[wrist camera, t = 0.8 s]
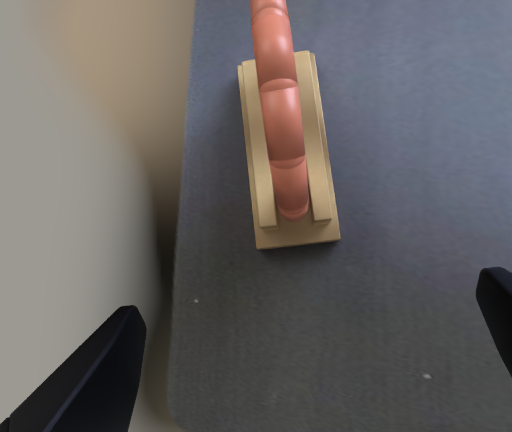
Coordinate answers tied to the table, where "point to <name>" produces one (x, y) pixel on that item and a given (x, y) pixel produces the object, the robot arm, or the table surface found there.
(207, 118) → the table surface
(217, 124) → the table surface
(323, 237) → the stand
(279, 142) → the ring
